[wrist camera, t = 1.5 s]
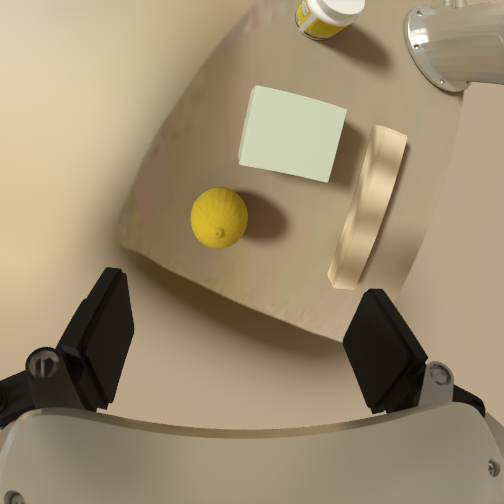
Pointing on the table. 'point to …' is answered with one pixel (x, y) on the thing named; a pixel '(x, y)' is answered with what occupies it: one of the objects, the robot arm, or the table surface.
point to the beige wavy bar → (367, 206)
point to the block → (290, 134)
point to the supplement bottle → (326, 16)
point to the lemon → (219, 217)
